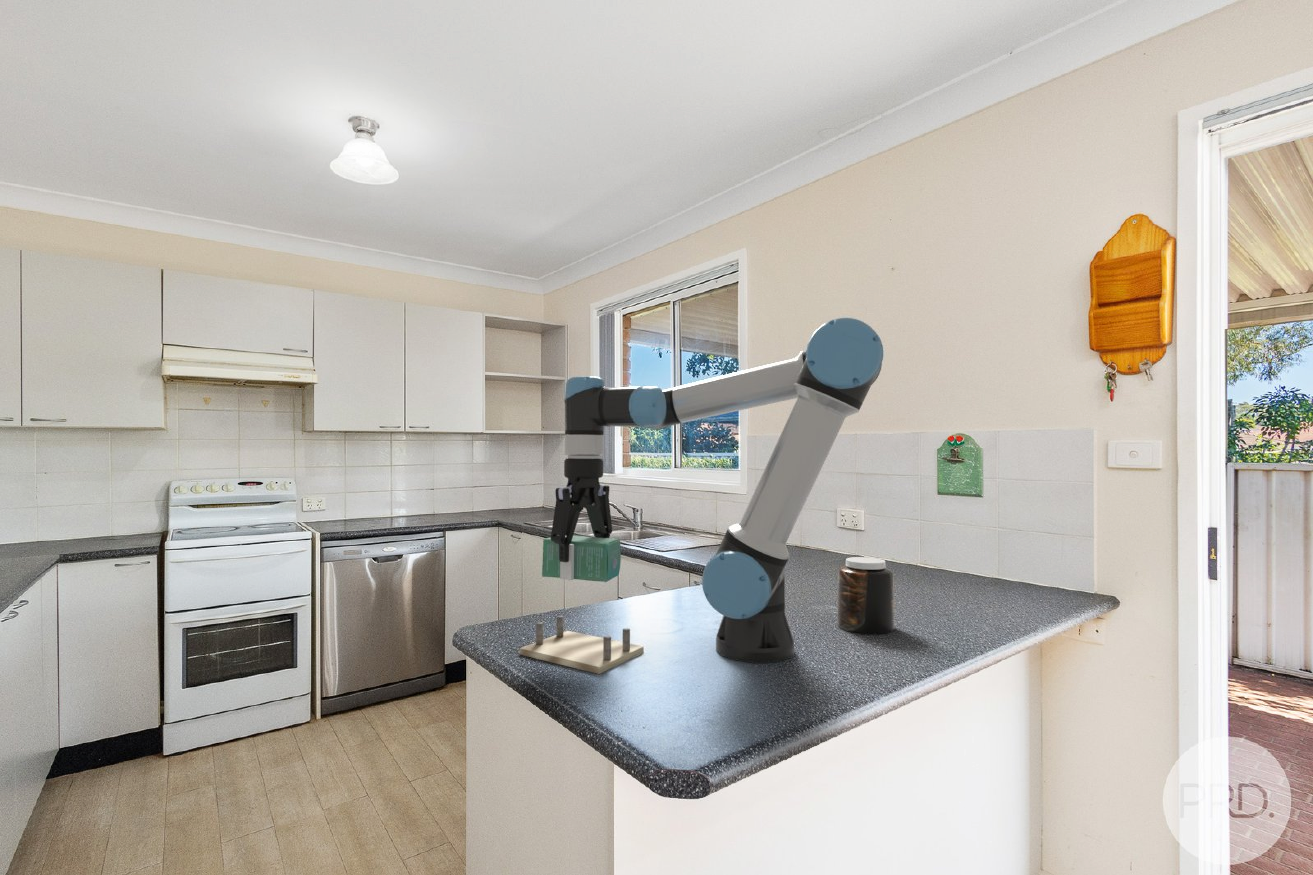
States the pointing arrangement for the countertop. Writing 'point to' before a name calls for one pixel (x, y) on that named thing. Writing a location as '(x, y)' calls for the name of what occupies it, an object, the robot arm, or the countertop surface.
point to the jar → (866, 596)
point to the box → (585, 558)
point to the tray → (581, 649)
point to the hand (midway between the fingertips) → (582, 575)
